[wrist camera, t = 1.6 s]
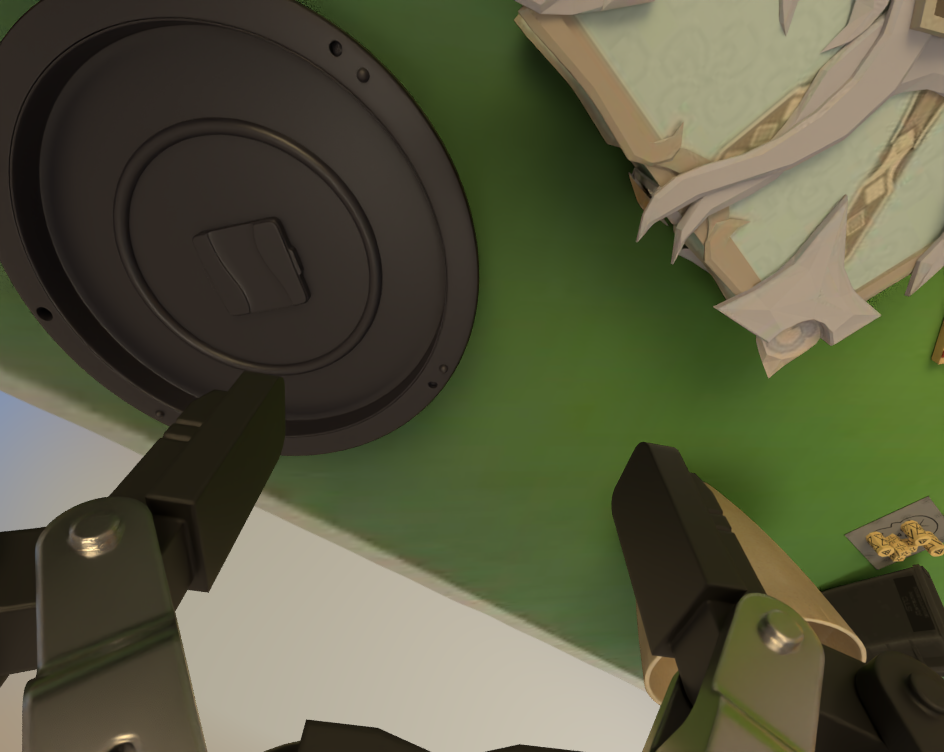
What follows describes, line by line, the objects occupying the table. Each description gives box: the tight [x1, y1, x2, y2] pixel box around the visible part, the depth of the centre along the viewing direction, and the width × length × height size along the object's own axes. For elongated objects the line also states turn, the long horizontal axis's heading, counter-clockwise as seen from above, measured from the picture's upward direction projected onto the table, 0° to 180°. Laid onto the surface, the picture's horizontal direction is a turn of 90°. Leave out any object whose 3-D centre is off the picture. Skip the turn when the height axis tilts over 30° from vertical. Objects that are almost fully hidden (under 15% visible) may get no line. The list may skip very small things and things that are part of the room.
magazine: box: [821, 564, 944, 677], centre depth 52 cm, size 17×3×30 cm
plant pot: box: [636, 482, 866, 706], centre depth 41 cm, size 15×15×16 cm
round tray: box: [0, 0, 479, 456], centre depth 32 cm, size 30×6×30 cm
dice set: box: [865, 520, 944, 562], centre depth 49 cm, size 5×5×2 cm
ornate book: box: [514, 0, 944, 378], centre depth 24 cm, size 23×10×30 cm
